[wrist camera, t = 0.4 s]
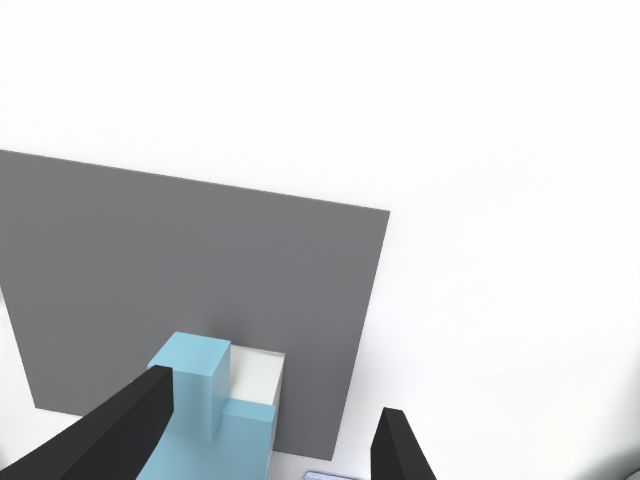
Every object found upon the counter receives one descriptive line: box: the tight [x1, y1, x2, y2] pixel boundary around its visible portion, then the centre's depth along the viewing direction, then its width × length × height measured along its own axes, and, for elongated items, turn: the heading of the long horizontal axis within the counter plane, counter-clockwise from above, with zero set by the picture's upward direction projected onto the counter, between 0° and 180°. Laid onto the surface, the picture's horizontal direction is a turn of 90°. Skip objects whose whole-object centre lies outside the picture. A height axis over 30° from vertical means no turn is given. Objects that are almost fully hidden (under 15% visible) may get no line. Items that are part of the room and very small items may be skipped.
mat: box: [0, 150, 390, 461], centre depth 21 cm, size 22×26×1 cm
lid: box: [130, 332, 276, 480], centre depth 17 cm, size 14×9×2 cm, turn 172°
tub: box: [229, 345, 285, 458], centre depth 21 cm, size 9×8×4 cm
